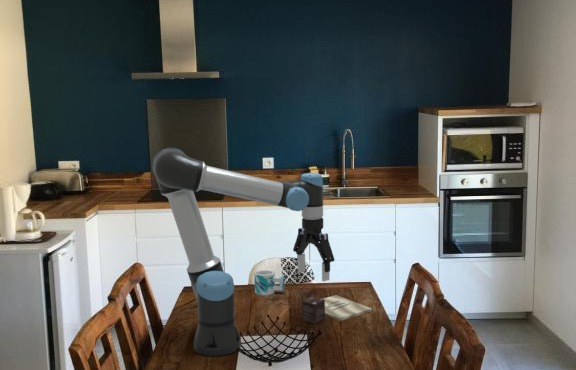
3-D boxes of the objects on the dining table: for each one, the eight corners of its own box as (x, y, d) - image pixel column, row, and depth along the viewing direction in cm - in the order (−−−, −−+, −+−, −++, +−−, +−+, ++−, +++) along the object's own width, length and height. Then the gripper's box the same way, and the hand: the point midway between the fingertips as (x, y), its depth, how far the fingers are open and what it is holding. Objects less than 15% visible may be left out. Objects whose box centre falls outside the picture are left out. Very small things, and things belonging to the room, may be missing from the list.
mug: (259, 288, 252) (258, 269, 251) (286, 290, 248) (286, 270, 247) (252, 294, 244) (252, 274, 243) (280, 296, 241) (280, 276, 239)
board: (339, 321, 213) (339, 318, 213) (304, 306, 229) (304, 303, 229) (371, 311, 223) (371, 308, 222) (336, 297, 239) (336, 294, 238)
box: (312, 315, 220) (311, 296, 219) (325, 319, 216) (325, 299, 215) (301, 320, 215) (301, 300, 214) (315, 324, 211) (315, 304, 210)
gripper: (344, 221, 202) (344, 282, 205) (299, 211, 222) (300, 266, 225) (327, 224, 198) (328, 286, 201) (282, 213, 218) (284, 270, 221)
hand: (313, 276), depth 213 cm, fingers open, 13 cm apart
